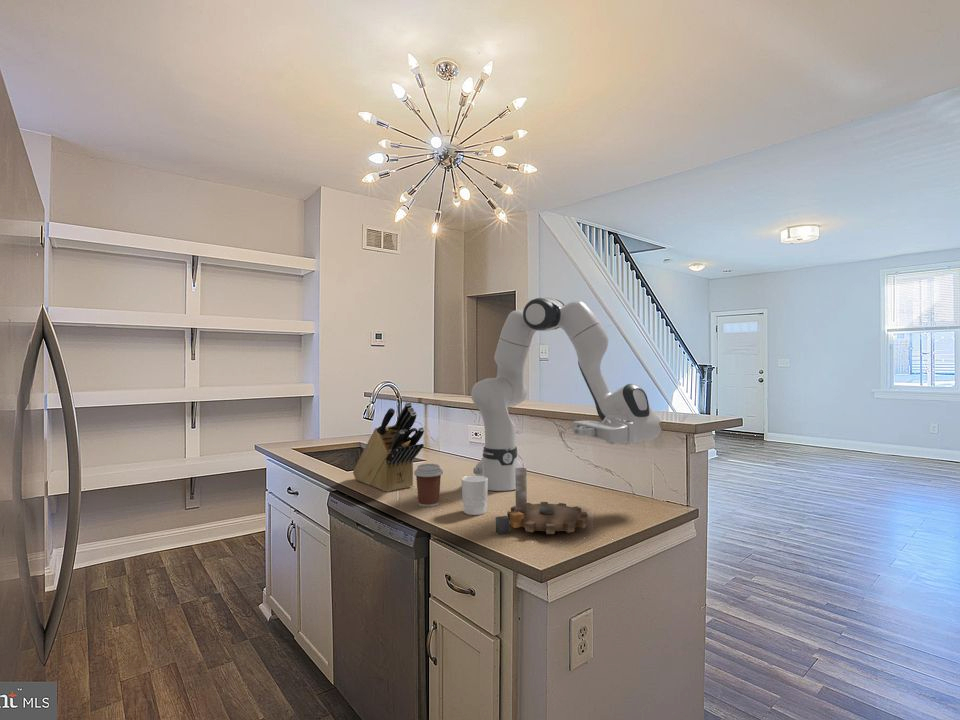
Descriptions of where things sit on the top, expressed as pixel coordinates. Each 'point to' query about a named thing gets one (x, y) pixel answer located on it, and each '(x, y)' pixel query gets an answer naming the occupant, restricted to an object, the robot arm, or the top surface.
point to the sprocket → (542, 512)
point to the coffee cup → (428, 484)
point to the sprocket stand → (502, 525)
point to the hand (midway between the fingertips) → (576, 431)
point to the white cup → (474, 494)
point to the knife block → (391, 453)
